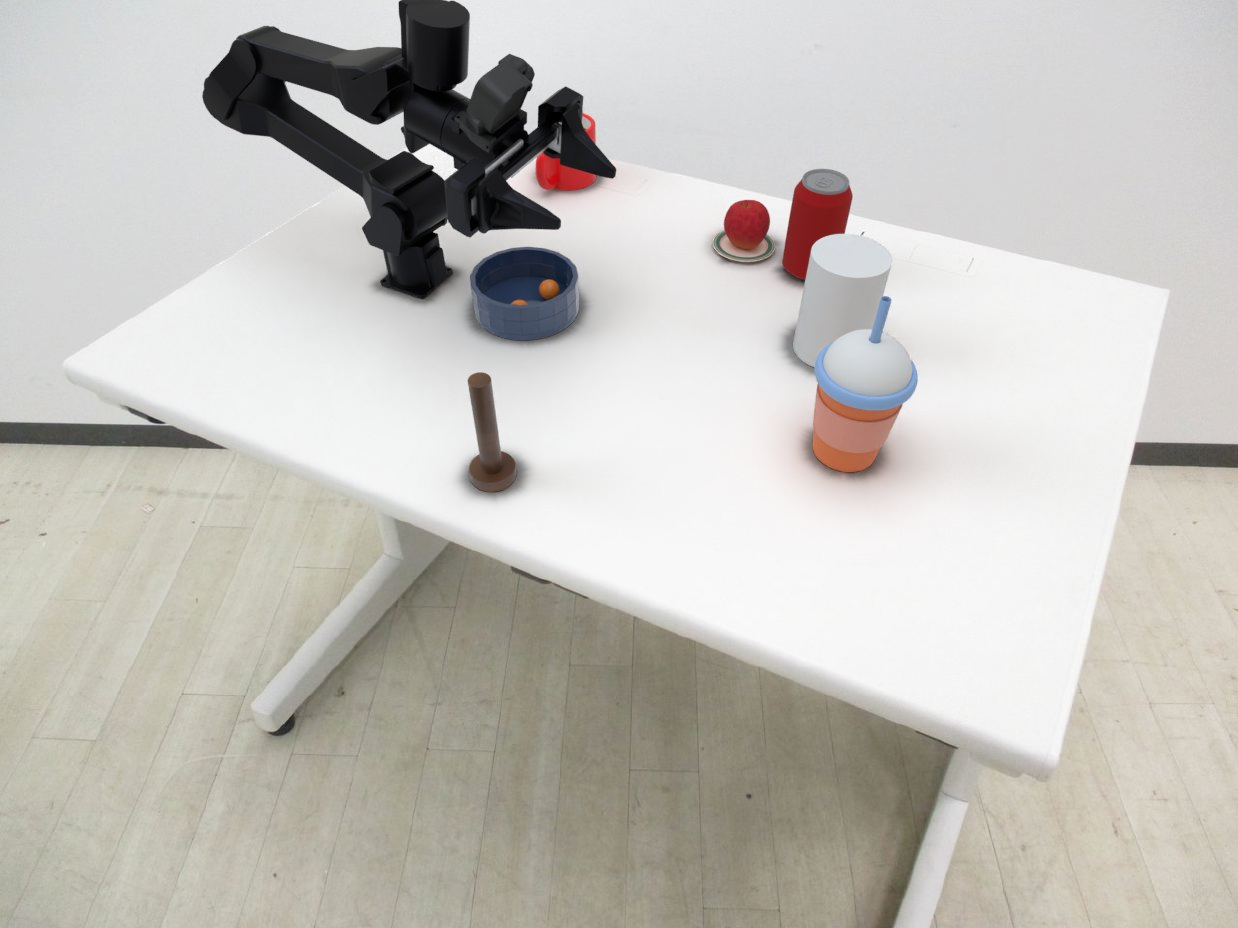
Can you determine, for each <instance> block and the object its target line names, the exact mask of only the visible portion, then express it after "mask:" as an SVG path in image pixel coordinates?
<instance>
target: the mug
mask: <svg viewBox="0 0 1238 928" xmlns="http://www.w3.org/2000/svg"><path fill="white" fill-rule="evenodd" d="M582 125H583V127H584V129H585V131H586V132H587V134H588V135H589V137H590V138H591V139H592V141H593V142H594V143H595V144H596V145H597V142H596V141H597V140H596V139H597V138H596V137H597V136H596V135H597V134H596V121H595V119H594V118H593V117H592V116H590V115H589V114H587V113H584V112H583V114H582ZM535 159H536V160H535V168H534V169H535V178H536V181H537V183H538V186H539V187H540V188H541V189H542V190H545V191H551V190H553V189H555V190H558V191H559V190H560V191H577V190H582V189H585V188H587V187H589V186H591V185H592V184H594V183H595V181H596V179H597V175H594V174H590V173H587V172H583V171H580V170H577V169H573V168H569V167H566V166H563V165H560V158H555V159H552V158H550V157H548V156H546V155H545V154H544V153H543V152H542V153H541V154H540V155H539V156H538V157H536V158H535Z"/></svg>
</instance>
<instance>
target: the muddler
mask: <svg viewBox="0 0 1238 928" xmlns="http://www.w3.org/2000/svg"><path fill="white" fill-rule="evenodd" d="M467 387H468V393H469V399H470V405H471V411H472V417H473V424H474V430H475V436H476V442H477V448H478V454H477V455H476V456H474V457H473V458H472V460H471V462H470V463H469V466H468V472H469V477H470V481H471V484H472V485H473V486H474V487H475V488H476V489H478V490H480V491H482V492H487V493H496V492H500V491H503V490H505V489H507V488H509V487H510V486H512V484H513V483H514V482H515V480H516V478H517V474H518V473H517V466H516V465H517V464H516V461H515V459H514V458H513V456H511V455H510V454H509V453H508V452H505V451H502V449H501V448H502V447H501V442H500V441H501V440H500V435H499V426H498V420H497V419H498V418H497V412H496V405H495V397H494V389H493V382H492V377H491V375H489V374H488V373H487V372H481V371H479V372H474V373H472V374H471V375H469V376H468V378H467Z"/></svg>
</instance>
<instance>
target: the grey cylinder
mask: <svg viewBox="0 0 1238 928" xmlns="http://www.w3.org/2000/svg"><path fill="white" fill-rule="evenodd" d="M892 265H893V256H892V254H891V252H890V250H889V249H888V248H887V247H886V246H885V245H883V244H882V243H880V242H878V241H877V240H875V239H873V238H870V237H868V236H864V235H859V234H852V233H845V234H834V235H829V236H826V237H823V238H821V239H819V240H818V241H816V242H815V243H814V245H813V246H812V249H811V254H810V259H809V264H808V269H807V274H806V279H805V280H804V284H803V290H802V294H801V300H800V306H799V310H798V316H797V320H796V325H795V331H794V335H793V340H792V341H793V342H792V348H793V351H794V354H795V356H796V357H797V358H798V359H799V360H800V361H802V362H803V363H804V364H805V365H808V366H809V367H811V368H814V367H815V362H816V359H817V357H818V355H819V353H820V352H821V351H822V350H823V349H824V348H825V347H826V346H827V345H829V344H830V343H832V342H834V341H836V340H837V339H838V338H840V337H841V336H843V335H845V334H847V333H849V332H852V331H855V330H862V329H873V325H874V322H875V318H876V314H877V311H878V307H879V304H880V300H881V297H883V296H884V294H885V290H886V287H887V282H888V280H889V275H890V272H891V269H892Z"/></svg>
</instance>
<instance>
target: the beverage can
mask: <svg viewBox="0 0 1238 928" xmlns="http://www.w3.org/2000/svg"><path fill="white" fill-rule="evenodd" d="M852 202H853V192H852V189H851V186H850V179H849V177H848V176H847V175H845V174H844V173H842V172H840V171H838V170H834V169H831V168H830V169H829V168H814V169H811V170H807V171H806V172H805V173H804V174H803V175H802V178H801V179H800V181H798V183H797V184H796V185H795V187H794V189H793V195H792V201H791V204H790V205H791V206H790V212H789V218H788V222H787V228H786V235H785V241H784V247H783V254H782V266H783V268H784V269H785V270H786V271H787V272H788V273H789V274H790V275H792V276H794V277H796V278H798V279H800V280H803V281H805V279H806V274H807V269H808V264H809V259H810V254H811V249H812V246H813V245H814V243H815V242H816V241H818V240H819V239H821V238H823V237H826V236H829V235H834V234H846V230H847V226H848V225H847V224H848V221H849V216H850V211H851V207H852Z"/></svg>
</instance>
